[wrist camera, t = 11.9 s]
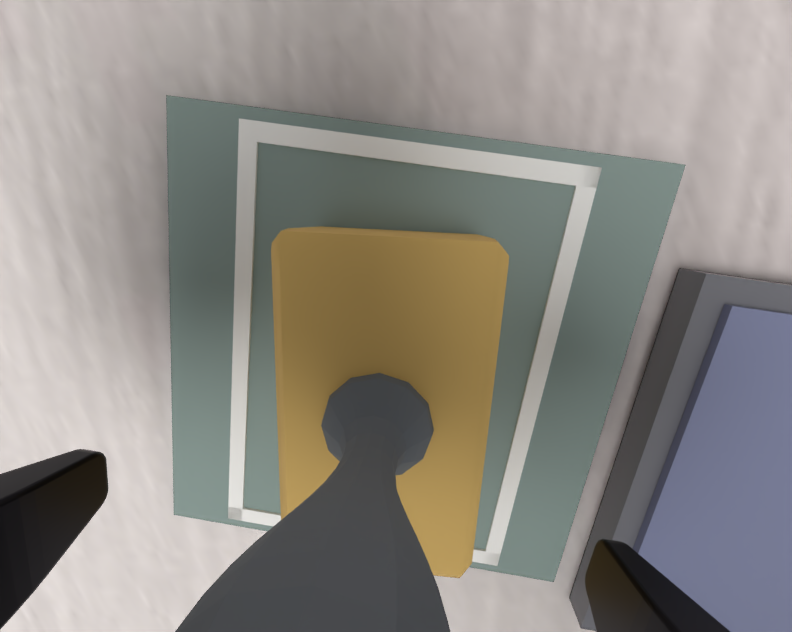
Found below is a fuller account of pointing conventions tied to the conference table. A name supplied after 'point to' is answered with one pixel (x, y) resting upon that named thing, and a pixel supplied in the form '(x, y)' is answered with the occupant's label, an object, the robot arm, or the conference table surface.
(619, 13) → the conference table surface
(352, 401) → the rubber stamp
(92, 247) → the conference table surface
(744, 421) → the ink pad
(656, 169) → the marking board
